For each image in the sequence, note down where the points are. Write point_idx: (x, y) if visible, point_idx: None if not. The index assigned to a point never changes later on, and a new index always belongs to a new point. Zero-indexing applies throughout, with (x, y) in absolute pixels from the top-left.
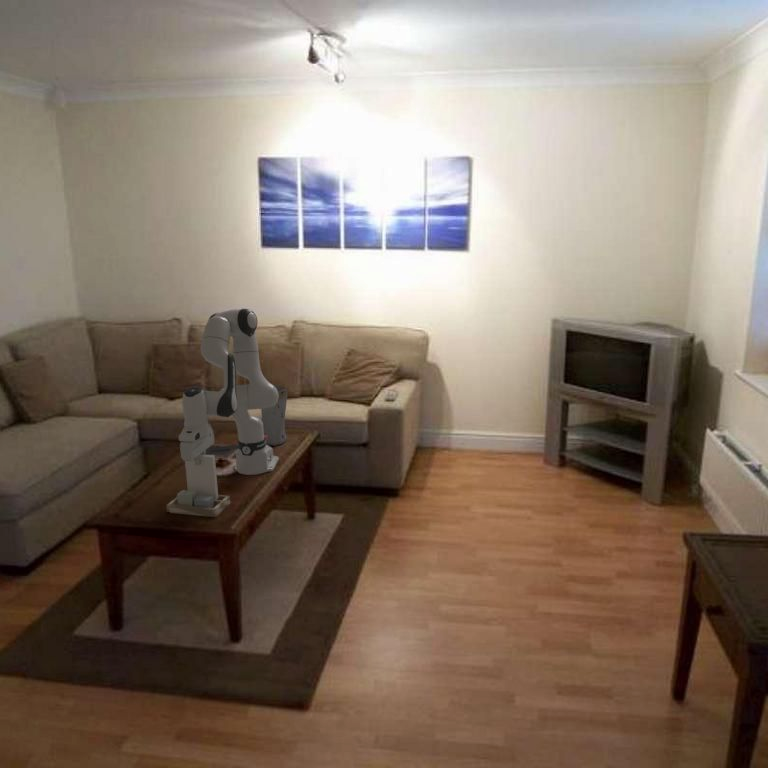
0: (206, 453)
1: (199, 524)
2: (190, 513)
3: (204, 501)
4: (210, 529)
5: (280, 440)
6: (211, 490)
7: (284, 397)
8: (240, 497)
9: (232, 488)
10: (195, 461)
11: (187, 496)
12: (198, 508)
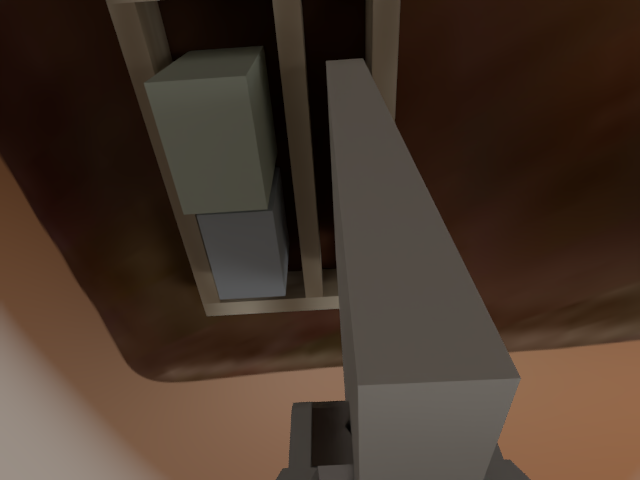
0: None
1: (117, 260)
2: None
3: (216, 275)
4: (108, 318)
5: None
6: (337, 274)
7: None
8: None
9: (571, 207)
10: (292, 464)
11: (177, 180)
12: (182, 237)
